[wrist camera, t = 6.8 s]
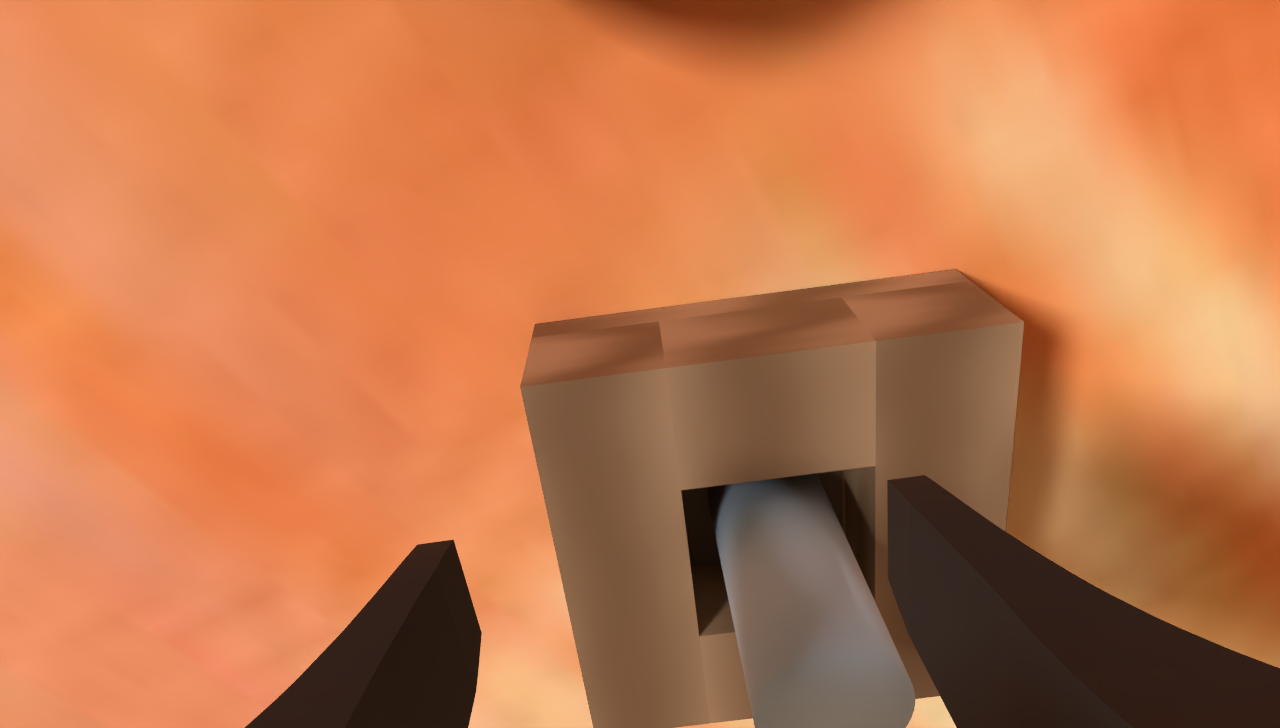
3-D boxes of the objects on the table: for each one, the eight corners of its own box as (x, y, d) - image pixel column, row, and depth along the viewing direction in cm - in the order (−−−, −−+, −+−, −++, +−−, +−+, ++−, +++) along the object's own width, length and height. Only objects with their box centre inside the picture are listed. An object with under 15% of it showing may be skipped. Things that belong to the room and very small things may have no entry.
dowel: (812, 433, 23) (909, 634, 16) (825, 526, 24) (920, 750, 17) (698, 457, 23) (741, 667, 16) (718, 548, 24) (766, 778, 17)
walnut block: (956, 269, 22) (1024, 321, 18) (939, 597, 27) (990, 689, 23) (535, 324, 22) (520, 387, 19) (597, 639, 27) (595, 736, 24)
